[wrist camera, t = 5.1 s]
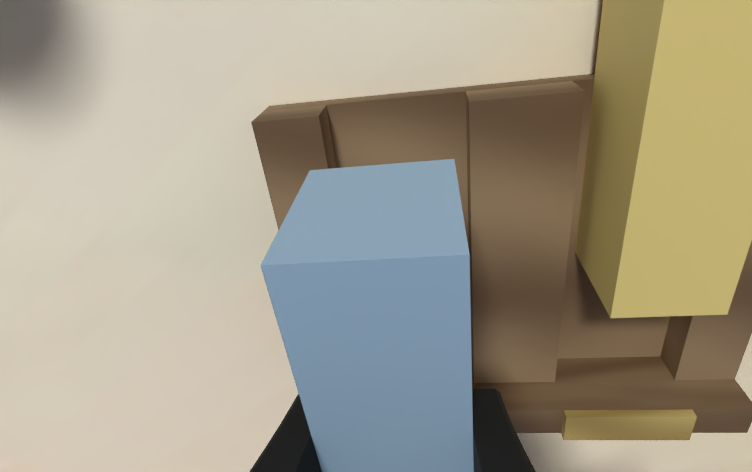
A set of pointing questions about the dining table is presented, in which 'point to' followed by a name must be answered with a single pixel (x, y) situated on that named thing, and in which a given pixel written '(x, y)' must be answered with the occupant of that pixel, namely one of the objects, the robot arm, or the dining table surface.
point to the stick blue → (378, 316)
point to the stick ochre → (669, 157)
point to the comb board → (531, 258)
